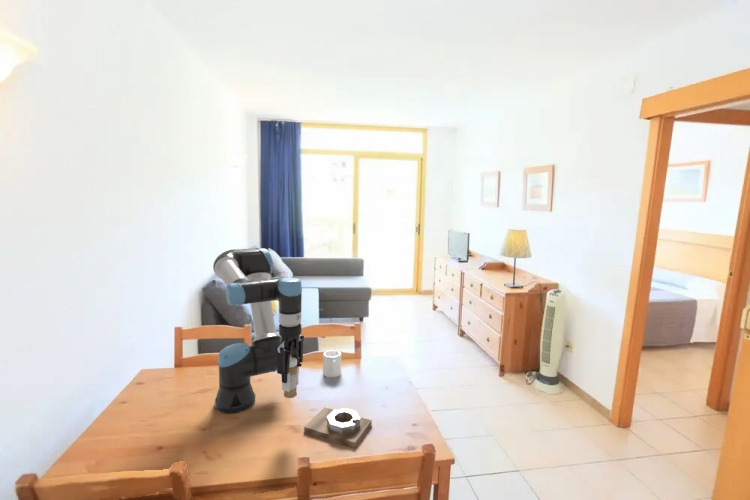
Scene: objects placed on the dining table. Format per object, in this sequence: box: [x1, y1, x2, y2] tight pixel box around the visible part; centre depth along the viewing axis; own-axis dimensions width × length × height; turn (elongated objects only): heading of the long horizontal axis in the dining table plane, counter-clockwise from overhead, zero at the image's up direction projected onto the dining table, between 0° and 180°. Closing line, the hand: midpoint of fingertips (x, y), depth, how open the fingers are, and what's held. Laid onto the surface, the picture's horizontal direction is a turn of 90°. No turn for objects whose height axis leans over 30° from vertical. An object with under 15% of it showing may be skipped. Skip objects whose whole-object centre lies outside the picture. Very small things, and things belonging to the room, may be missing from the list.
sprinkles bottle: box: [283, 356, 298, 399], centre depth 134 cm, size 5×5×14 cm
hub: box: [327, 407, 361, 435], centre depth 137 cm, size 11×11×4 cm
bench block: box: [303, 407, 373, 449], centre depth 139 cm, size 20×14×2 cm
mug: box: [322, 349, 342, 379], centre depth 178 cm, size 12×9×10 cm
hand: (290, 386), depth 135 cm, fingers closed on sprinkles bottle, 4 cm apart
